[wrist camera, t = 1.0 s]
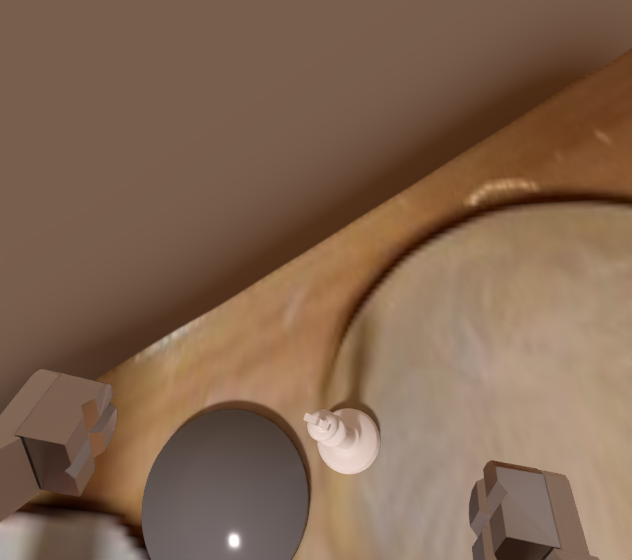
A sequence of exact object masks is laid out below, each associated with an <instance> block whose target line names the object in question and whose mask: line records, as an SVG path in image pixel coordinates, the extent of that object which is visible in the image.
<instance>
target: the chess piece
mask: <svg viewBox="0 0 632 560" xmlns="http://www.w3.org/2000/svg"><path fill="white" fill-rule="evenodd" d="M303 420H305V421H307V422H308V424H307V427H308V432H309V434H310V435H311V436H312V437H313V438H314V439H315V440H317V444H318V449H319V452H320V455H321V457H322V459H323V460H324V461H325V463H326V464H327V465H328V466H329V467H330V468H332V469H333V470H335V471H337V472H339V473H343V474H355V473H358V472H361V471H363V470H365V469H366V468H368V467H369V466H370V465H371V464H372V463H373V461H374V460H375V458H376V456H377V454H378V451H379V447H380V435H379V431H378V428H377V426H376V424H375V422H374V421H373V420H372V419H371V417H369V416H368V415H367V414H366V413H364V412H362V411H360V410H357V409H351V408H344V409H340V410H337V411H335V412H333V413H332V412H330V411H329V410H325V409H321V410H317V411H315V412H314V413H313V414H312V415H310V414H307V413H306V414H305V417H304V419H303Z"/></svg>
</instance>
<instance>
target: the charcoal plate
mask: <svg viewBox="0 0 632 560" xmlns="http://www.w3.org/2000/svg"><path fill="white" fill-rule="evenodd" d="M309 502H310V496H309V483H308V478H307V473H306V469H305V466H304V463H303V460H302V458H301V456H300V454H299V451H298V450H297V448H296V446H295V445H294V443H293V442H292V440H291V439H290V438H289V437H288V435H287V434H286V433H285V432H284V431H283V430H282V429H281V428H280V427H279V426H277V425H276V424H274V423H273V422H271V421H270V420H268V419H266V418H264V417H262V416H260V415H258V414H255V413H252V412H249V411H245V410H239V409H225V410H217V411H213V412H210V413H207V414H204V415H202V416H199V417H197V418H196V419H194V420H192V421H190V422H189V423H187V424H186V425H185V426H183V427H182V428H181V429H180V430H178V431H177V432H176V433H175V434H174V435H173V436H172V437H171V438H170V440H169V441H168V442H167V443H166V444H165V446H164V447H163V449H162V450H161V452H160V453H159V455H158V456H157V458H156V460H155V462H154V464H153V466H152V468H151V471H150V473H149V476H148V479H147V482H146V486H145V490H144V495H143V502H142V528H143V535H144V539H145V543H146V547H147V550H148V553H149V555H150V558H151V560H292V559H293V557H294V555H295V554H296V552H297V550H298V548H299V545H300V543H301V541H302V539H303V535H304V532H305V529H306V525H307V520H308V514H309Z"/></svg>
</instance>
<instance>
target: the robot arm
mask: <svg viewBox="0 0 632 560" xmlns="http://www.w3.org/2000/svg"><path fill="white" fill-rule="evenodd" d="M113 395H114V394H113V390H112V386H111V384H107V383H102V382H98V381H93V380H89V379H84V378H80V377H75V376H71V375H66V374H63V373H58V372H53V371H47V370H43V369H40V370H39V371H37V372H36V373H34V374H33V375H32V376H31V377H30V379H29V380H28V381H27V382H26V384H25V385H24V386H23V387H22V389H21V390H20V391H19V392H18V394H17V395H16V396H15V397H14V399H13V400H12V401H11V402H10V404H9V405H8V406H7V407H6V409H5V410H4V411H3V412H2V414H1V415H0V522H1V521H3V520H4V519H5V518H7V517H8V516H9V515H11V514H12V513H13V512H15V511H16V510H17V509H18V508H20V507H21V506H22V505H24V504H25V503H26V502H28V501H29V500H30V499H32V498H33V497H34V496H36V495H37V494H38V493H40V490H46V491H51V492H57V493H62V494H68V495H73V496H79V497H80V496H81V494H82V492H83V490H84V488H85V487H86V485H87V483H88V481H89V479H90V478H91V476H92V474H93V472H94V470H95V469H96V468H95V463H94V457H96V456H97V455H99V454H101V453H102V452H104V451H105V450H106V449H107V447H108V445H109V443H110V441H111V439H112V437H113V434H114V430H115V427H116V421H117V412H116V408H115V407H114V406H113V405H112V404H111V403H110V400H111V398H112V396H113ZM483 472H484V478H483V479H481V480H479V481H476V483H475V486H474V488H473V490H472V493H471V498H470V503H469V519H470V527H471V528H472V529H473V531H474V532H475V534H476V535H477V537H478V539H477V540H476V542H475V543H474V545H473V547H472V552H473V560H599V559H598V557H594V556H590V554H589V551H588V547H587V544H586V540H585V537H584V533H583V529H582V526H581V522H580V519H579V515H578V511H577V508H576V504H575V501H574V497H573V494H572V490H571V486H570V483H569V480H568V479H567V477H566V476H565V475H562V474H558V473H553V472H547V471H542V470H538V469H536V468H530V467H525V466H520V465H514V464H509V463H503V462H498V461H493V460H491V461H489V462H487V464H486V466H485V467H484V469H483Z"/></svg>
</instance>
